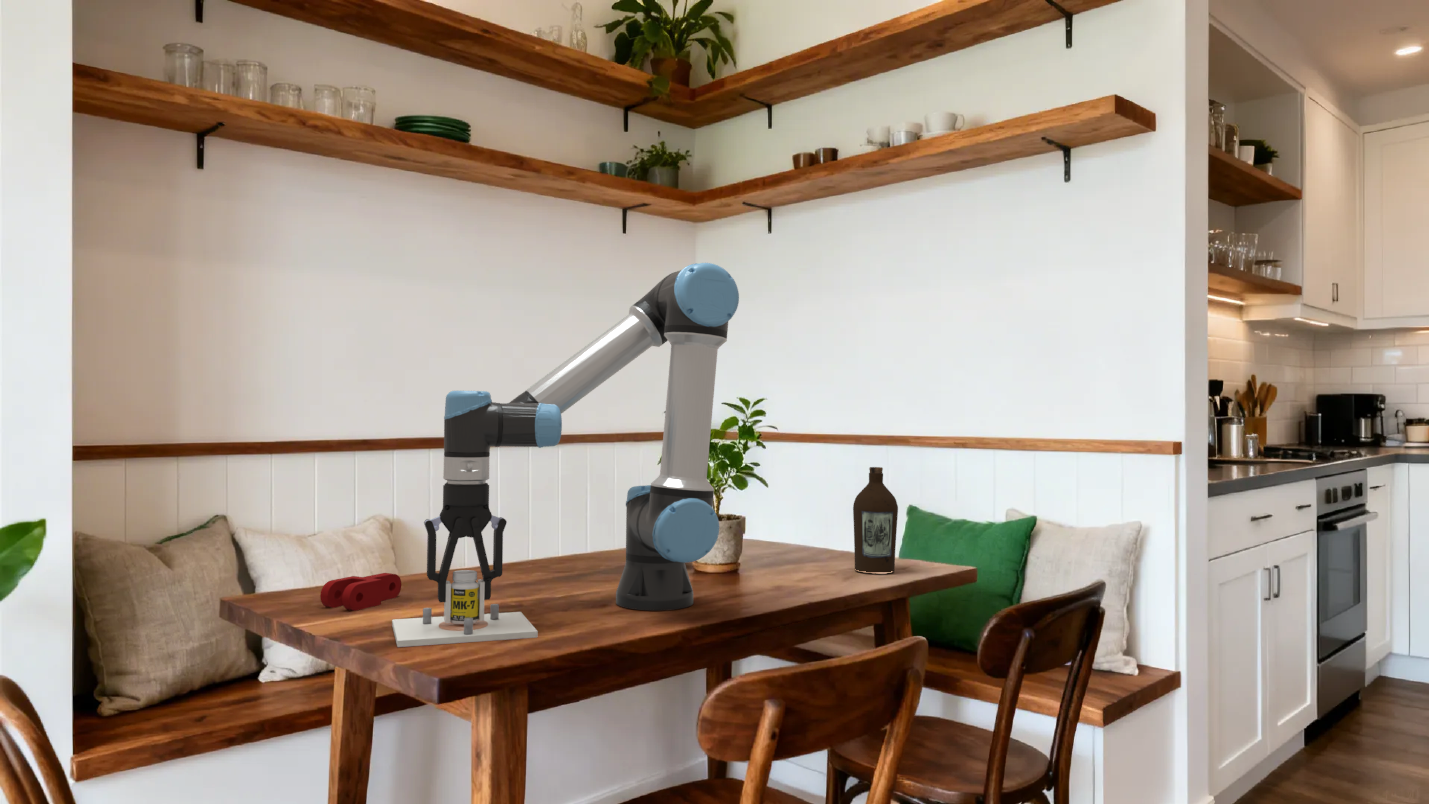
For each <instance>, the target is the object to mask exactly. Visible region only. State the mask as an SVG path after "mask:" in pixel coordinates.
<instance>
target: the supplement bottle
mask: <svg viewBox="0 0 1429 804" xmlns="http://www.w3.org/2000/svg"><path fill="white" fill-rule="evenodd" d="M452 581H453V582H452V583H451V612H450V622H451V623H453V624H464V618H469V617H470V618H473V623H475V622H477V621H478V613H479V584H478V571H476V570H473V569H471V570H470V569H461V570H455V571H453V572H452Z"/></svg>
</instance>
